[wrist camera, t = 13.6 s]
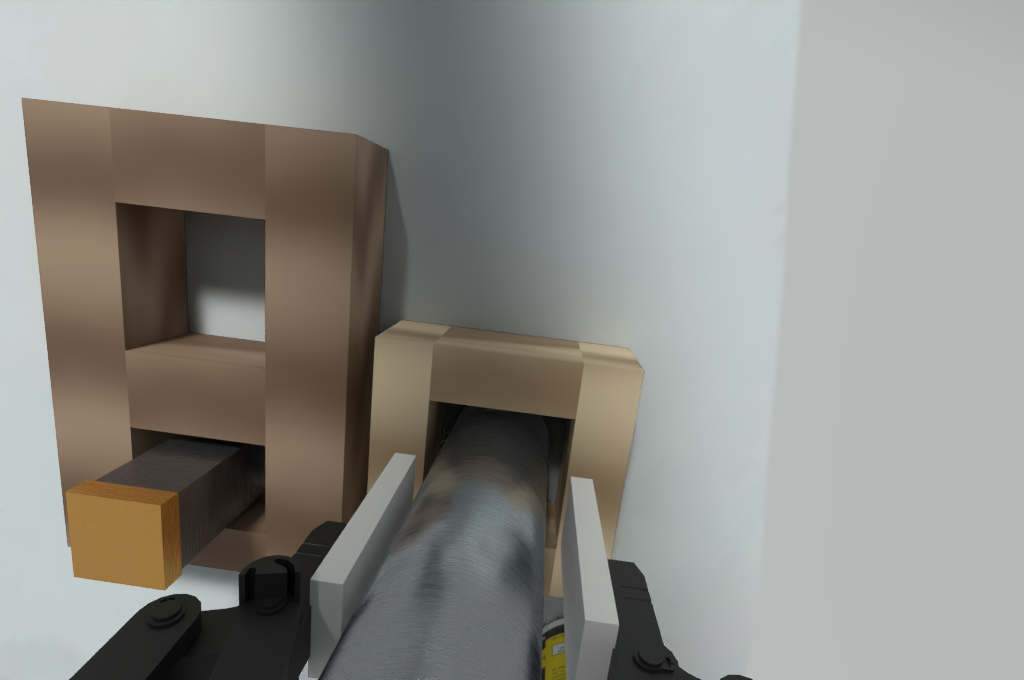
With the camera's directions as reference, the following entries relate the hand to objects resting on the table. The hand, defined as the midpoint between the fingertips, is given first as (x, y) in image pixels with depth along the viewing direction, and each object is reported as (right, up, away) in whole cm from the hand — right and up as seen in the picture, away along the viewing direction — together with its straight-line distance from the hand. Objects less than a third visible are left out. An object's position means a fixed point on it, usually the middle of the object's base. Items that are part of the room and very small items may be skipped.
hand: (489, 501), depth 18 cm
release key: (-12, +1, +5) cm, 13 cm away
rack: (0, +1, +5) cm, 5 cm away
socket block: (-11, +6, +5) cm, 13 cm away
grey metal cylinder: (0, +1, +5) cm, 5 cm away
